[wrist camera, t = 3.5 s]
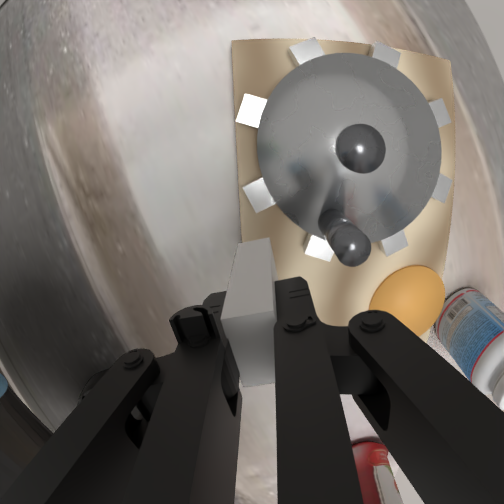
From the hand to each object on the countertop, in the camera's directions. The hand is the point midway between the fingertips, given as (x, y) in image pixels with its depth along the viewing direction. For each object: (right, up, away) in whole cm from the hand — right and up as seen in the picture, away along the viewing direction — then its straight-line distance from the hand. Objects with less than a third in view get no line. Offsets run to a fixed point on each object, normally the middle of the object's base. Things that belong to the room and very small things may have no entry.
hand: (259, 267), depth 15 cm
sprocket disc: (+6, +8, +4) cm, 10 cm away
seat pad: (+12, -4, +8) cm, 15 cm away
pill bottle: (+19, -5, +10) cm, 22 cm away
